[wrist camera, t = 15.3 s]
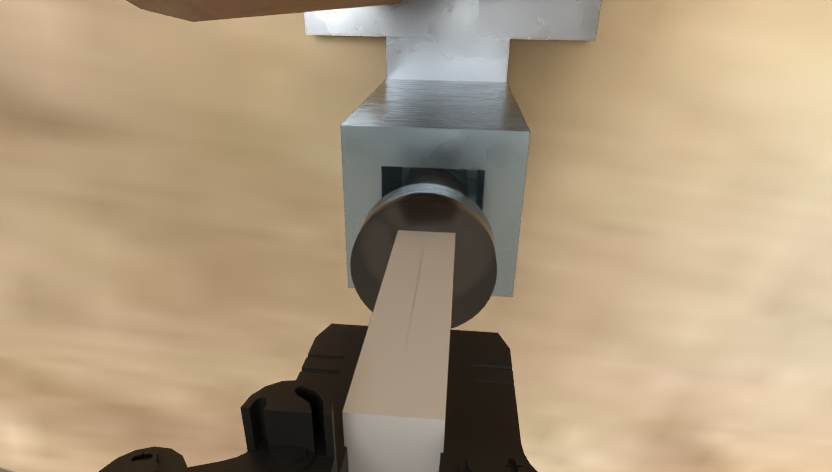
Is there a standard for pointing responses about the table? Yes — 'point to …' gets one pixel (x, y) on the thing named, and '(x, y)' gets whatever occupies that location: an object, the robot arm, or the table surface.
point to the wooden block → (246, 7)
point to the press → (447, 103)
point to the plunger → (431, 212)
